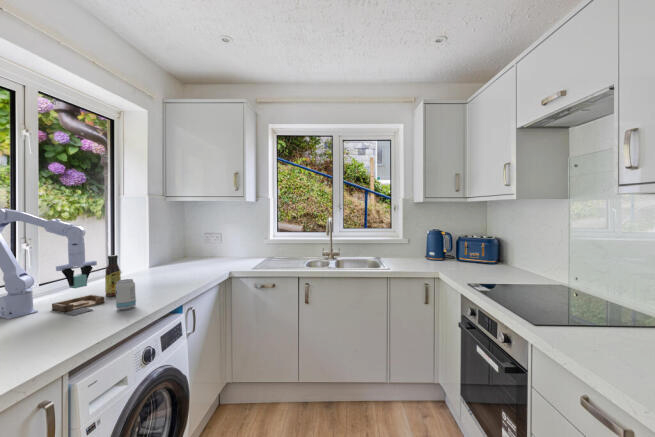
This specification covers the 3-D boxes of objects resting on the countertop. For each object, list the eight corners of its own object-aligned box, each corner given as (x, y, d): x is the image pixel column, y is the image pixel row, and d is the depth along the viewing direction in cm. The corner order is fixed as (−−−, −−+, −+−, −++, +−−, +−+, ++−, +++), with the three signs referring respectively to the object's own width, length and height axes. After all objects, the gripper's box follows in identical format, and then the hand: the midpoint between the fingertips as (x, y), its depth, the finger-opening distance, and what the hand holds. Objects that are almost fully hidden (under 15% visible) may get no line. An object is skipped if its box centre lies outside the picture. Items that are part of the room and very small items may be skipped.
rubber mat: (73, 315, 123) (73, 314, 123) (64, 313, 126) (64, 312, 126) (93, 310, 129) (93, 309, 129) (83, 308, 132) (83, 307, 132)
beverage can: (119, 307, 133) (117, 279, 132) (137, 305, 135) (136, 278, 135) (114, 312, 126) (113, 283, 126) (133, 309, 129) (132, 281, 128)
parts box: (64, 313, 126) (64, 306, 126) (52, 310, 131) (51, 303, 131) (104, 302, 140) (104, 296, 140) (91, 300, 144) (91, 294, 144)
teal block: (75, 288, 132) (74, 276, 132) (69, 287, 134) (68, 276, 134) (86, 285, 136) (86, 274, 136) (81, 285, 138) (80, 274, 138)
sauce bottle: (113, 297, 149) (111, 256, 148) (102, 296, 150) (100, 256, 149) (124, 293, 155) (122, 254, 155) (114, 293, 156) (112, 254, 156)
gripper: (61, 256, 126) (63, 289, 127) (100, 251, 140) (101, 281, 140) (52, 255, 129) (54, 287, 130) (91, 251, 143) (92, 280, 143)
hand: (78, 284), depth 135 cm, fingers closed on teal block, 4 cm apart
